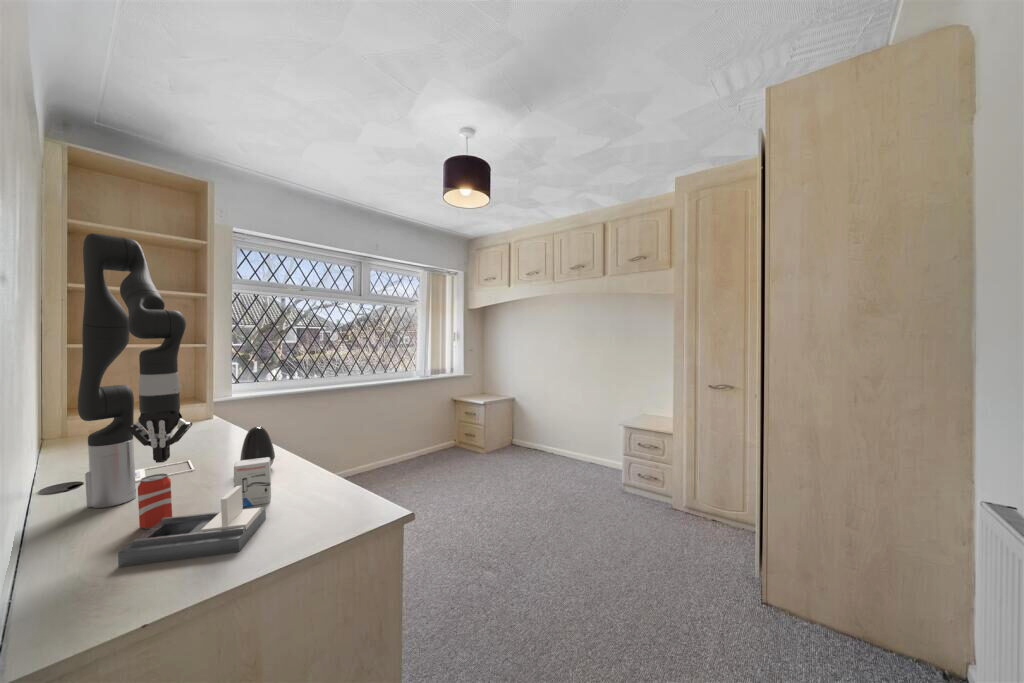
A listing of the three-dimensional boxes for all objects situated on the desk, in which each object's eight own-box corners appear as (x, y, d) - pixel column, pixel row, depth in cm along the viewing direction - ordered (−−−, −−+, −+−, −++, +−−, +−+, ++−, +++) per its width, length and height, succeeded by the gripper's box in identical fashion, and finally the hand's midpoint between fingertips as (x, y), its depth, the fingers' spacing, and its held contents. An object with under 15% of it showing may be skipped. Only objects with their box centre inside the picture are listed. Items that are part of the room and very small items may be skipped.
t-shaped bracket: (201, 534, 90) (200, 502, 90) (220, 516, 99) (219, 486, 98) (246, 529, 92) (244, 497, 92) (261, 512, 101) (260, 483, 100)
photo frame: (123, 471, 140) (189, 459, 153) (123, 474, 140) (190, 462, 153) (123, 482, 130) (194, 468, 142) (123, 486, 130) (194, 471, 142)
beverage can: (160, 517, 106) (158, 471, 106) (178, 520, 104) (176, 474, 104) (133, 528, 100) (131, 480, 100) (151, 532, 98) (149, 482, 98)
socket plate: (118, 567, 84) (117, 548, 83) (165, 530, 99) (164, 513, 99) (239, 551, 89) (238, 533, 88) (265, 518, 104) (265, 503, 104)
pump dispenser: (278, 463, 148) (276, 422, 147) (271, 473, 138) (269, 428, 138) (246, 467, 145) (244, 424, 144) (236, 477, 135) (234, 431, 134)
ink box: (233, 509, 110) (232, 466, 110) (236, 502, 114) (234, 461, 114) (270, 502, 114) (269, 461, 114) (271, 496, 118) (270, 456, 118)
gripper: (116, 395, 94) (118, 468, 95) (182, 393, 97) (184, 465, 98) (137, 389, 101) (140, 458, 102) (198, 388, 104) (200, 455, 105)
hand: (161, 461), depth 100 cm, fingers closed
